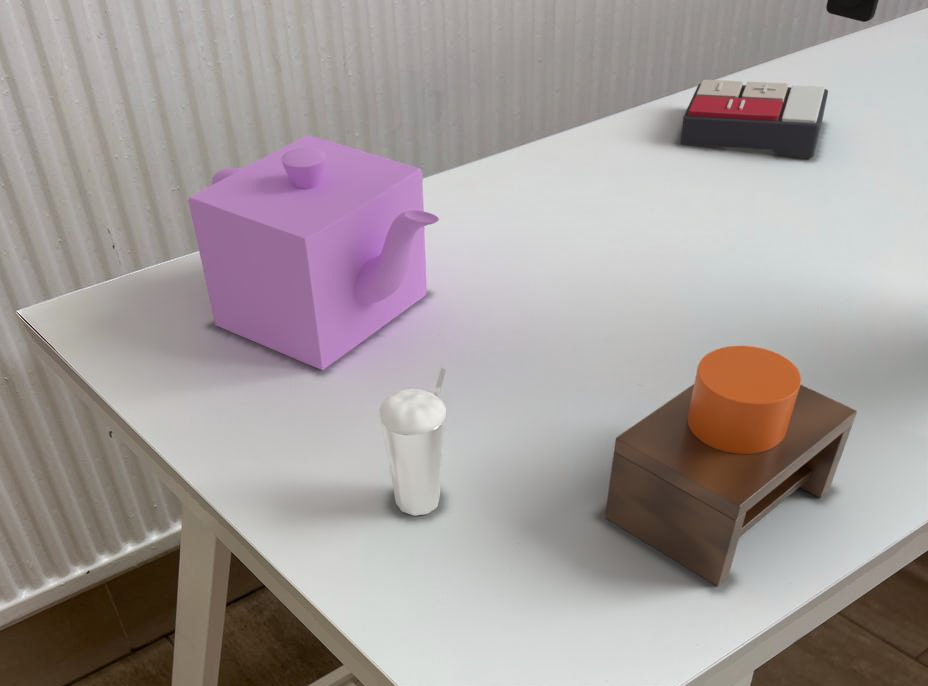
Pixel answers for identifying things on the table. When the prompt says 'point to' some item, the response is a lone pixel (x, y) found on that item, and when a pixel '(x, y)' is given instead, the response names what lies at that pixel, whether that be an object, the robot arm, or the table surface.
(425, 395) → the milkshake
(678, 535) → the brown wooden step stool
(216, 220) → the teapot
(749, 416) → the orange cylinder puck
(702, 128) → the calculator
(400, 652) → the table surface
